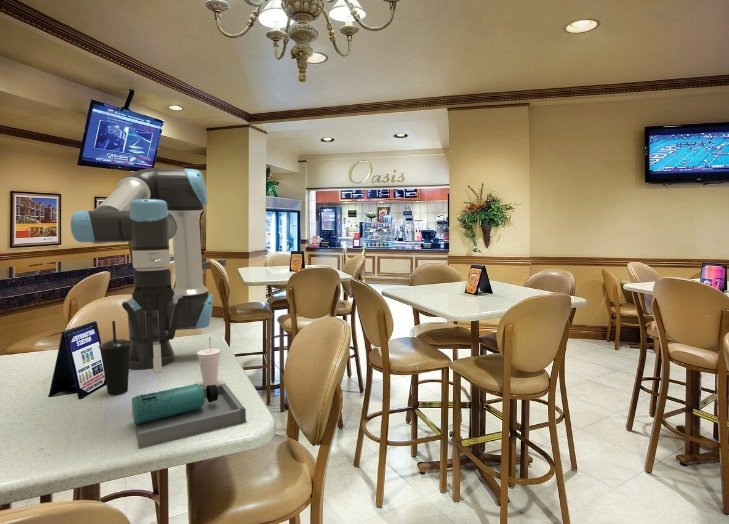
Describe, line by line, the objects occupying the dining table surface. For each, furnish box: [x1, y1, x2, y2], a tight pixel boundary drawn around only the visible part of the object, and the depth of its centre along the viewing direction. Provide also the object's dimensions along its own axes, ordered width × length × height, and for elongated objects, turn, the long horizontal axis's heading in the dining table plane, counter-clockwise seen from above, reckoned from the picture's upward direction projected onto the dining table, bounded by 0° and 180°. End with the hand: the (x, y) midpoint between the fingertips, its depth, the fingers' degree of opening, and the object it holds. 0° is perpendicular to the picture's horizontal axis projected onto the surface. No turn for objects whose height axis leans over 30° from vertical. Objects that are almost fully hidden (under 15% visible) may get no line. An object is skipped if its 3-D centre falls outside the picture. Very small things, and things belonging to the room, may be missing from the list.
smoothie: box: [196, 336, 221, 387], centre depth 123 cm, size 6×6×14 cm
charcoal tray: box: [135, 382, 247, 449], centre depth 102 cm, size 20×22×3 cm
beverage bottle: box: [131, 383, 218, 426], centre depth 101 cm, size 6×7×20 cm
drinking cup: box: [98, 320, 131, 396], centre depth 118 cm, size 8×8×20 cm
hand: (157, 371), depth 98 cm, fingers closed
